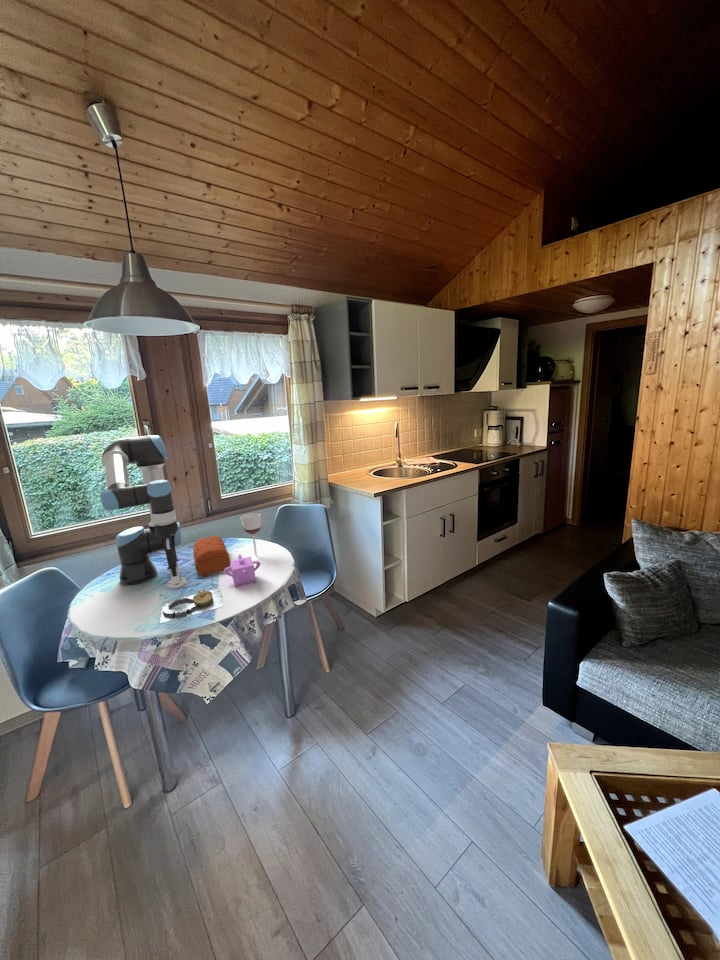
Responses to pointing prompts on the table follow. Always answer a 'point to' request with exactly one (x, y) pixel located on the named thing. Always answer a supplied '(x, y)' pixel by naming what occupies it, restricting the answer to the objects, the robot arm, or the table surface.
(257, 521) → the wineglass
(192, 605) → the carrier plate
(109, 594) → the table surface
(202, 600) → the gold cymbal
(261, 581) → the table surface
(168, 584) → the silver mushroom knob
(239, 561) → the teapot
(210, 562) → the bread
